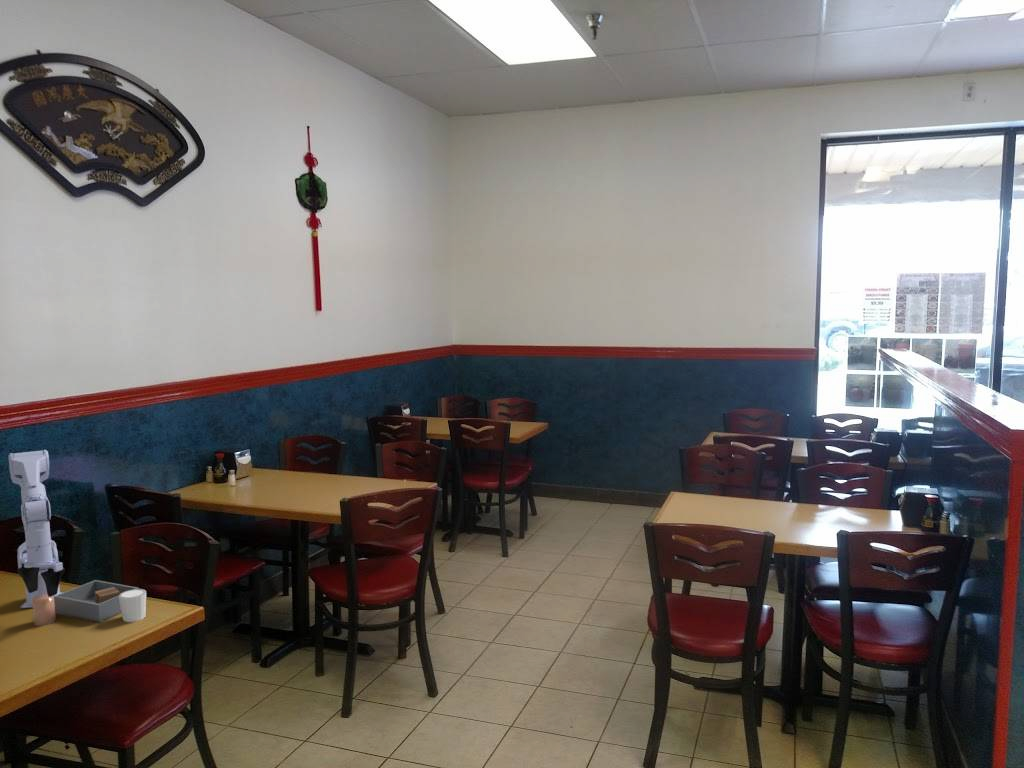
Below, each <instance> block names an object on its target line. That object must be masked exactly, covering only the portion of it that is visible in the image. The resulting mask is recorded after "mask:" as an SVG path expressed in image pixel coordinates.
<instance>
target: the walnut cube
mask: <svg viewBox="0 0 1024 768" xmlns="http://www.w3.org/2000/svg"><path fill="white" fill-rule="evenodd" d="M118 595H120V593H119V591H118V590H117V589H116V588H115V587H112V588H108V589H104V590H100V591H95V602H96V603H97V604H100V603H102V602H104V601H107V600H109V599H111V598H114V597H116V596H118Z"/></svg>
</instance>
